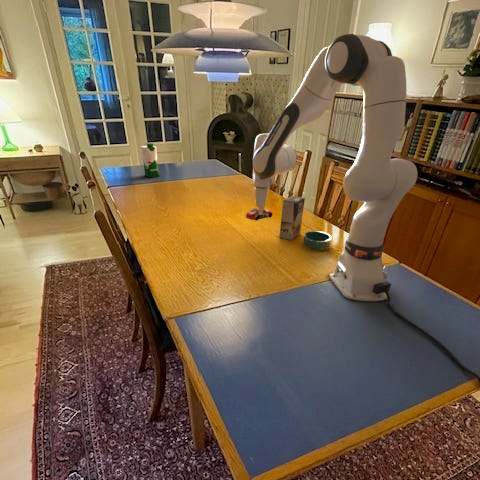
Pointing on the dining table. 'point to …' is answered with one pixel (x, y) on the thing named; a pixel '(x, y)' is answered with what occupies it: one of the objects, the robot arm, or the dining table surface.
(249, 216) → the race car
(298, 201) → the coffee box
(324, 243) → the teal bowl
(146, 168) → the milk carton
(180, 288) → the dining table surface
